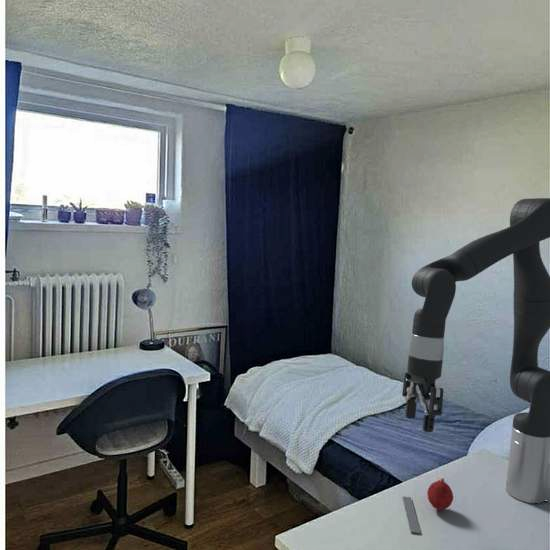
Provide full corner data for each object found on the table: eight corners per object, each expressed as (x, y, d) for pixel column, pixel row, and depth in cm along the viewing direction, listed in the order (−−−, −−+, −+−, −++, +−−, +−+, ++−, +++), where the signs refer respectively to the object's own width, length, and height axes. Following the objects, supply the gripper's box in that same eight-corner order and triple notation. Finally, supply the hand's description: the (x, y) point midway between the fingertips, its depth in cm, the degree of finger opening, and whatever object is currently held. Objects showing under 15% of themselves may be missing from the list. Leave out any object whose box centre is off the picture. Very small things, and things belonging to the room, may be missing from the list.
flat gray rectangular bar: (410, 498, 121) (411, 497, 121) (420, 534, 107) (420, 532, 107) (402, 497, 121) (402, 496, 121) (411, 533, 108) (411, 531, 108)
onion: (453, 519, 114) (456, 486, 113) (427, 515, 115) (430, 482, 114) (449, 505, 119) (452, 474, 118) (425, 501, 120) (427, 470, 120)
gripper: (458, 363, 106) (450, 436, 107) (425, 348, 120) (418, 413, 121) (426, 362, 104) (418, 436, 105) (397, 347, 118) (390, 413, 119)
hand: (418, 424), depth 113 cm, fingers open, 8 cm apart
